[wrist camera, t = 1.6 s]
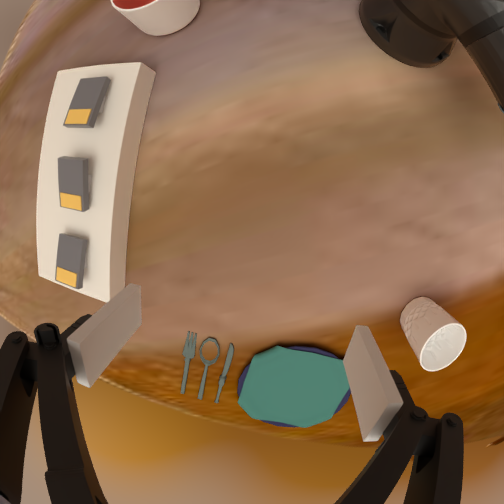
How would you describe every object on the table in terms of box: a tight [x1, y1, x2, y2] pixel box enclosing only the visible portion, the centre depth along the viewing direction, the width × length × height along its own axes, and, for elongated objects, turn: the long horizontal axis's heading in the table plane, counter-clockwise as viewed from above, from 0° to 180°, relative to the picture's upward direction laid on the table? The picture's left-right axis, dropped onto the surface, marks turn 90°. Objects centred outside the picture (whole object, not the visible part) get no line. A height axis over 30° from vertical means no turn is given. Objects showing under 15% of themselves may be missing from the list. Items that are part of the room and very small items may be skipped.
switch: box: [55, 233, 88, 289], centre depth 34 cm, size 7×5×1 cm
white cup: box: [400, 297, 466, 371], centre depth 34 cm, size 8×8×10 cm
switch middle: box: [58, 156, 89, 212], centre depth 31 cm, size 7×5×1 cm
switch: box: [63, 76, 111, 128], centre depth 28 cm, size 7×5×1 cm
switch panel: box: [36, 62, 156, 302], centre depth 35 cm, size 34×16×6 cm, turn 168°
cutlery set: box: [181, 331, 351, 427], centre depth 45 cm, size 20×30×2 cm, turn 76°
